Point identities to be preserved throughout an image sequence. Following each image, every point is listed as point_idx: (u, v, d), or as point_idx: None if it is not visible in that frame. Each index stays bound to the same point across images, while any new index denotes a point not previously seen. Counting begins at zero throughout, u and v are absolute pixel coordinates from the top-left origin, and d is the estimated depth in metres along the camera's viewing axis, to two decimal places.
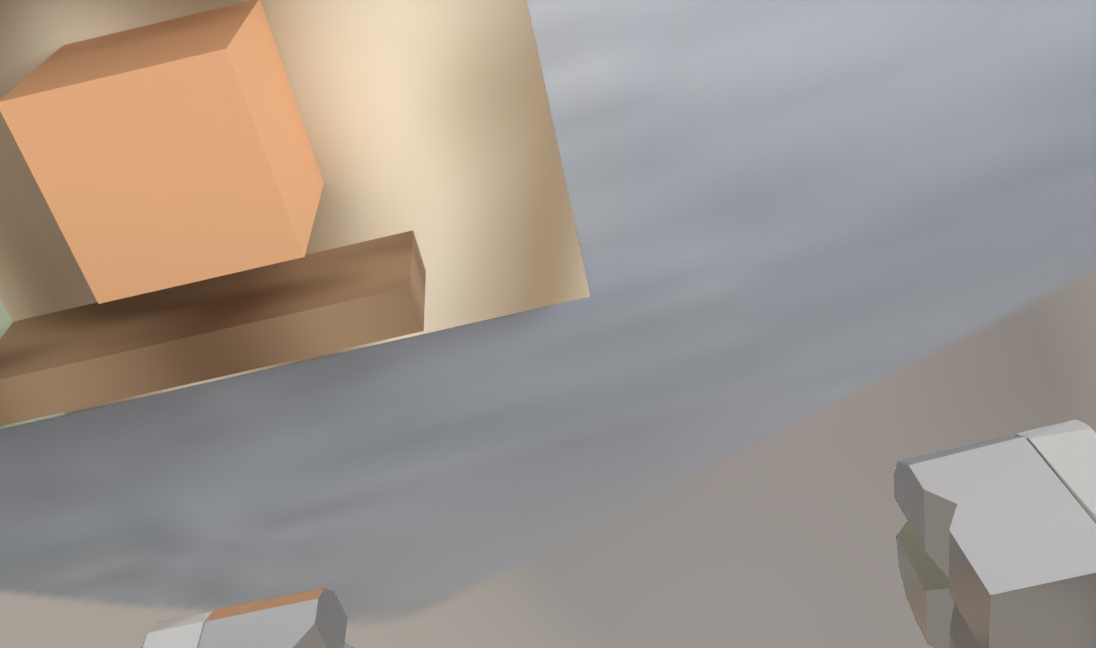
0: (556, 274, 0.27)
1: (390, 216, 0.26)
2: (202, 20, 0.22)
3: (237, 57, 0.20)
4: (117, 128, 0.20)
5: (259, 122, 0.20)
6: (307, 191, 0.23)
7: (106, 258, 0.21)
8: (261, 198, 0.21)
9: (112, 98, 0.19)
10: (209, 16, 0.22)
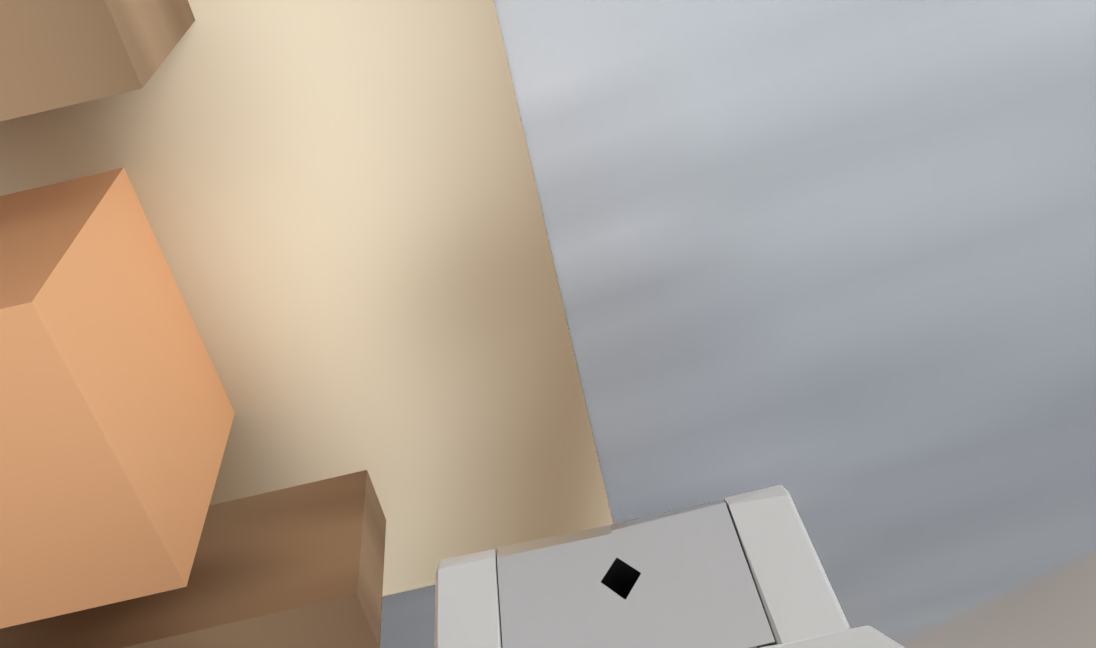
0: (570, 518, 0.19)
1: (333, 453, 0.18)
2: (28, 210, 0.14)
3: (60, 304, 0.12)
4: None
5: (102, 399, 0.13)
6: (201, 453, 0.15)
7: None
8: (110, 511, 0.13)
9: None
10: (41, 201, 0.14)
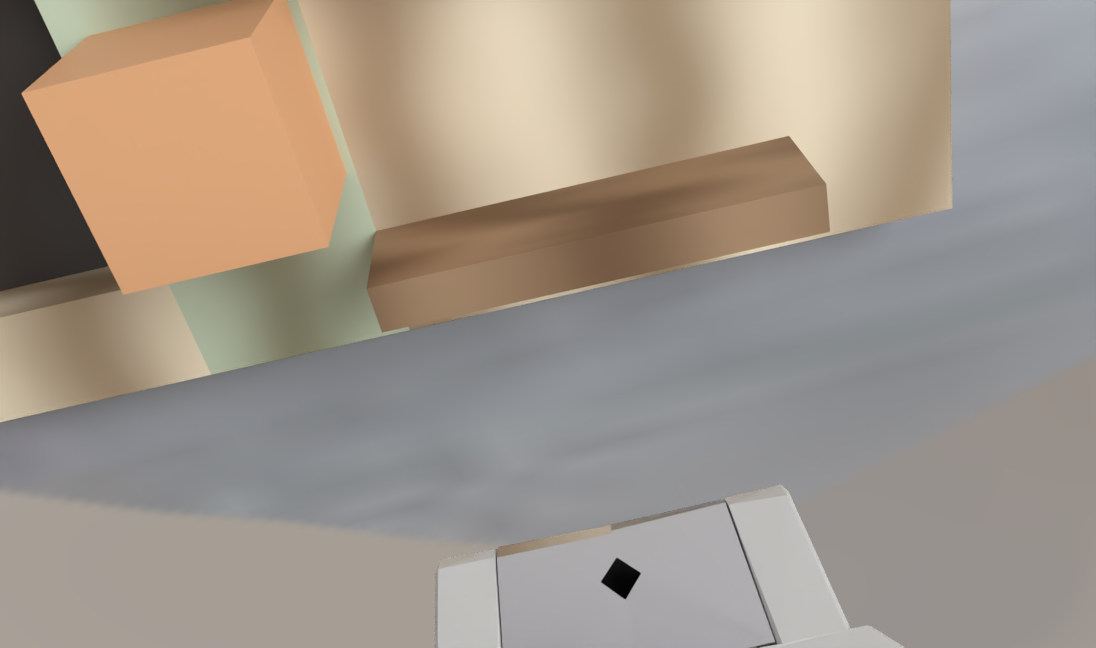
0: (922, 184, 0.26)
1: (769, 121, 0.25)
2: (225, 10, 0.22)
3: (261, 46, 0.20)
4: (141, 118, 0.20)
5: (283, 112, 0.20)
6: (330, 181, 0.23)
7: (131, 249, 0.21)
8: (285, 188, 0.21)
9: (136, 88, 0.19)
10: (232, 6, 0.22)
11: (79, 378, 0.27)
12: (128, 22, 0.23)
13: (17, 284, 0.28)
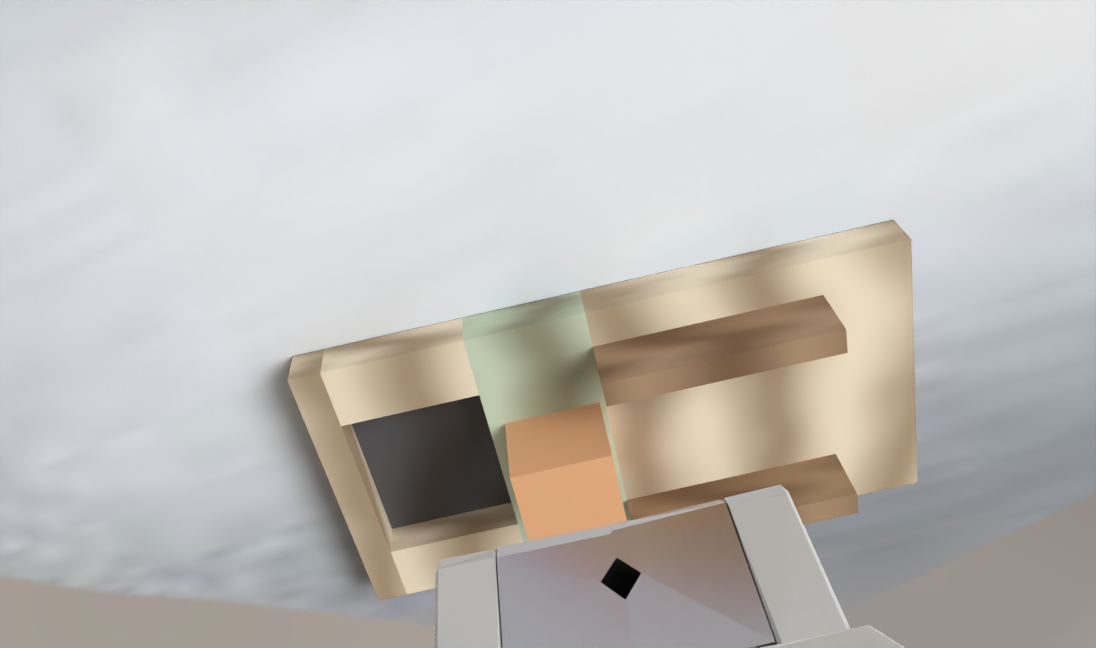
0: (902, 472, 0.51)
1: (826, 448, 0.50)
2: (578, 418, 0.47)
3: None
4: (558, 485, 0.45)
5: None
6: None
7: (540, 535, 0.46)
8: (614, 509, 0.46)
9: (559, 475, 0.44)
10: (579, 415, 0.47)
11: None
12: (525, 417, 0.47)
13: (428, 520, 0.52)
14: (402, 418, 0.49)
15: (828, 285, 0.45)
